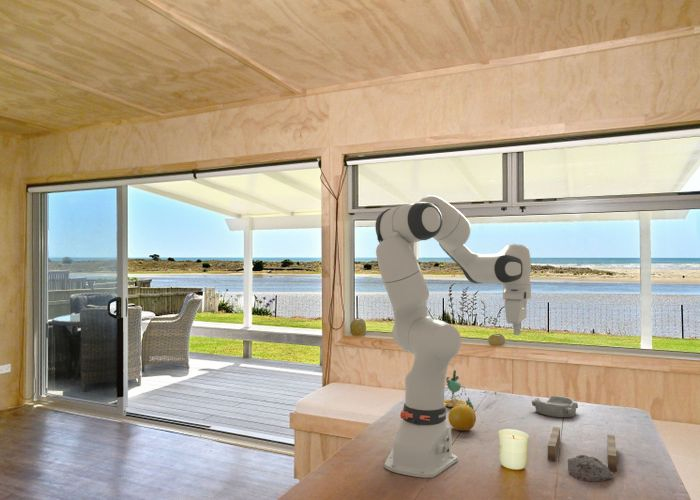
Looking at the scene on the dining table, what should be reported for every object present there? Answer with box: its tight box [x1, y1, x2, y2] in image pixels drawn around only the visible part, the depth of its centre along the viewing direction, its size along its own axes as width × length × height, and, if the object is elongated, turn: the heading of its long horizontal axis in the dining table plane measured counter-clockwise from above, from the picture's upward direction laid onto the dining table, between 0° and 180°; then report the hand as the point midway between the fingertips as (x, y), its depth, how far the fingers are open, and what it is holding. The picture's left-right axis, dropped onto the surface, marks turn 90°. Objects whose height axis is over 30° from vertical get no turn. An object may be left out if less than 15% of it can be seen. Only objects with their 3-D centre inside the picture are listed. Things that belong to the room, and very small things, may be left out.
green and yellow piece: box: [444, 369, 476, 412], centre depth 193 cm, size 10×18×15 cm, turn 22°
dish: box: [531, 395, 579, 418], centre depth 184 cm, size 14×14×5 cm
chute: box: [547, 426, 618, 472], centre depth 144 cm, size 18×17×4 cm
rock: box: [567, 454, 614, 482], centre depth 130 cm, size 9×11×4 cm
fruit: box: [447, 405, 477, 432], centre depth 165 cm, size 9×8×8 cm
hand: (517, 334), depth 167 cm, fingers closed
